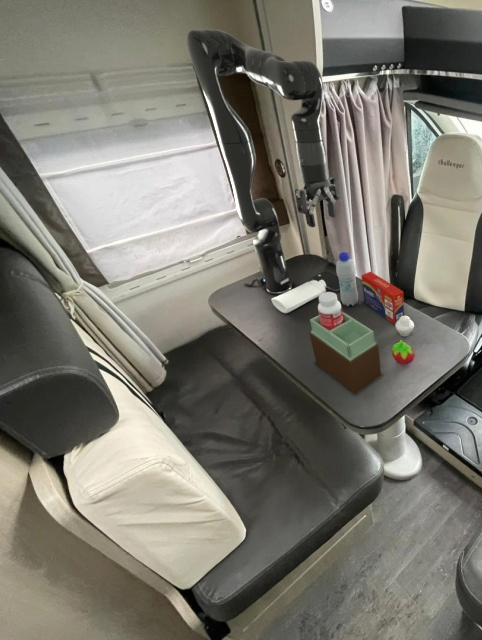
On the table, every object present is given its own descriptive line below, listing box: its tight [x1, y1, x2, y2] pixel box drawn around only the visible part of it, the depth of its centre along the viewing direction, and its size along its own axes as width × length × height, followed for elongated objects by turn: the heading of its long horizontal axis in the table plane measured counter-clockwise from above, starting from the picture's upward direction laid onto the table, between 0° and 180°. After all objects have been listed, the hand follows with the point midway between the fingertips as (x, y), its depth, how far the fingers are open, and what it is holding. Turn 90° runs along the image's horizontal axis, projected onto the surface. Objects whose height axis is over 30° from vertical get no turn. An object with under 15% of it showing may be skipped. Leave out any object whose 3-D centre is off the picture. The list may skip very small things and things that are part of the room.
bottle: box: [335, 251, 359, 307], centre depth 128 cm, size 7×7×20 cm
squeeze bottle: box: [270, 280, 327, 314], centre depth 134 cm, size 10×20×5 cm, turn 139°
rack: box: [308, 311, 382, 395], centre depth 103 cm, size 18×10×17 cm, turn 47°
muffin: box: [394, 315, 415, 337], centre depth 119 cm, size 6×6×7 cm
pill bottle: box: [317, 291, 344, 331], centre depth 98 cm, size 6×6×11 cm
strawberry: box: [391, 339, 415, 366], centre depth 107 cm, size 6×7×10 cm
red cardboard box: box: [361, 271, 405, 326], centre depth 127 cm, size 18×4×12 cm, turn 42°
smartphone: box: [311, 271, 340, 293], centre depth 145 cm, size 8×1×15 cm
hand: (322, 221), depth 105 cm, fingers open, 8 cm apart
